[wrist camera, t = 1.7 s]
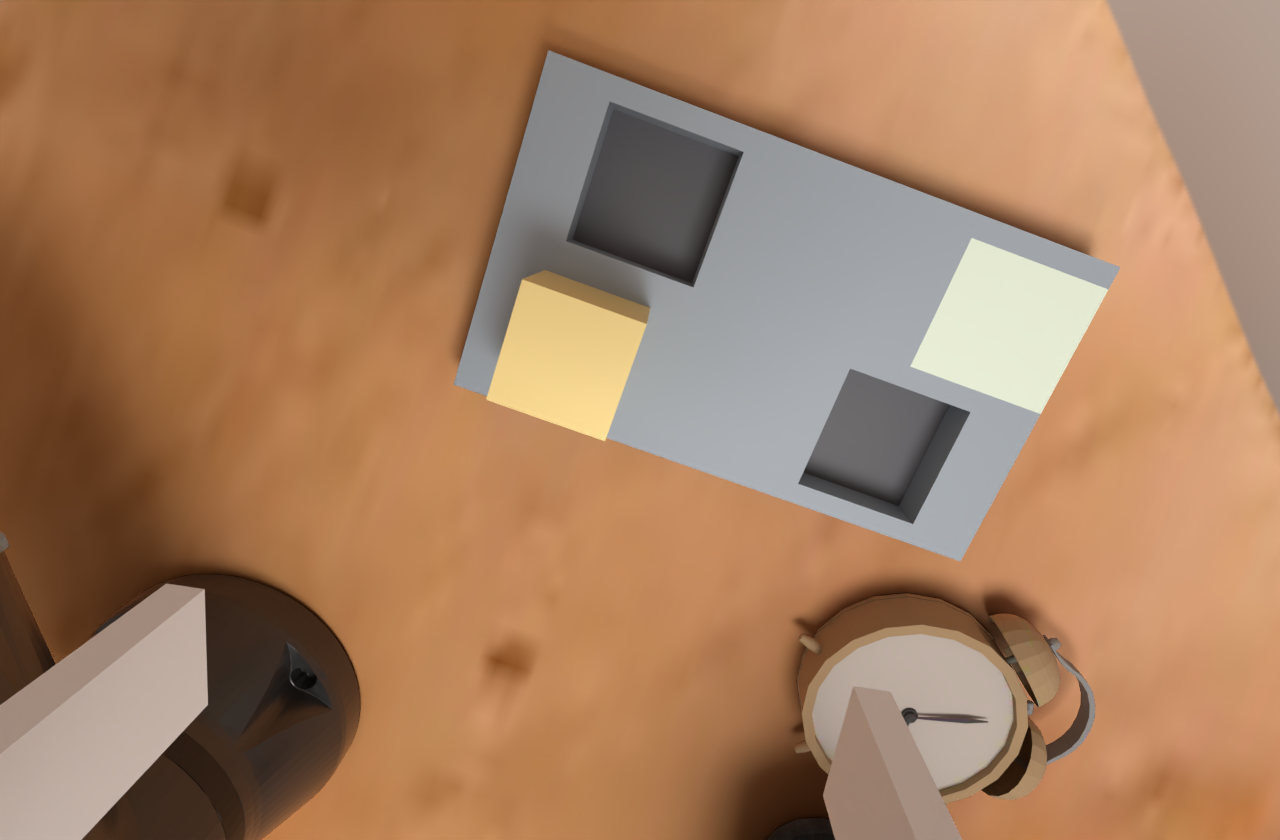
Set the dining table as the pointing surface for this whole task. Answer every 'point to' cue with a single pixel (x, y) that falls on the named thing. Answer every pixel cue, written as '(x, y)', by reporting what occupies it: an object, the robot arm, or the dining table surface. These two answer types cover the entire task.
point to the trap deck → (790, 307)
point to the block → (567, 353)
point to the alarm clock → (942, 690)
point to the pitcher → (804, 830)
